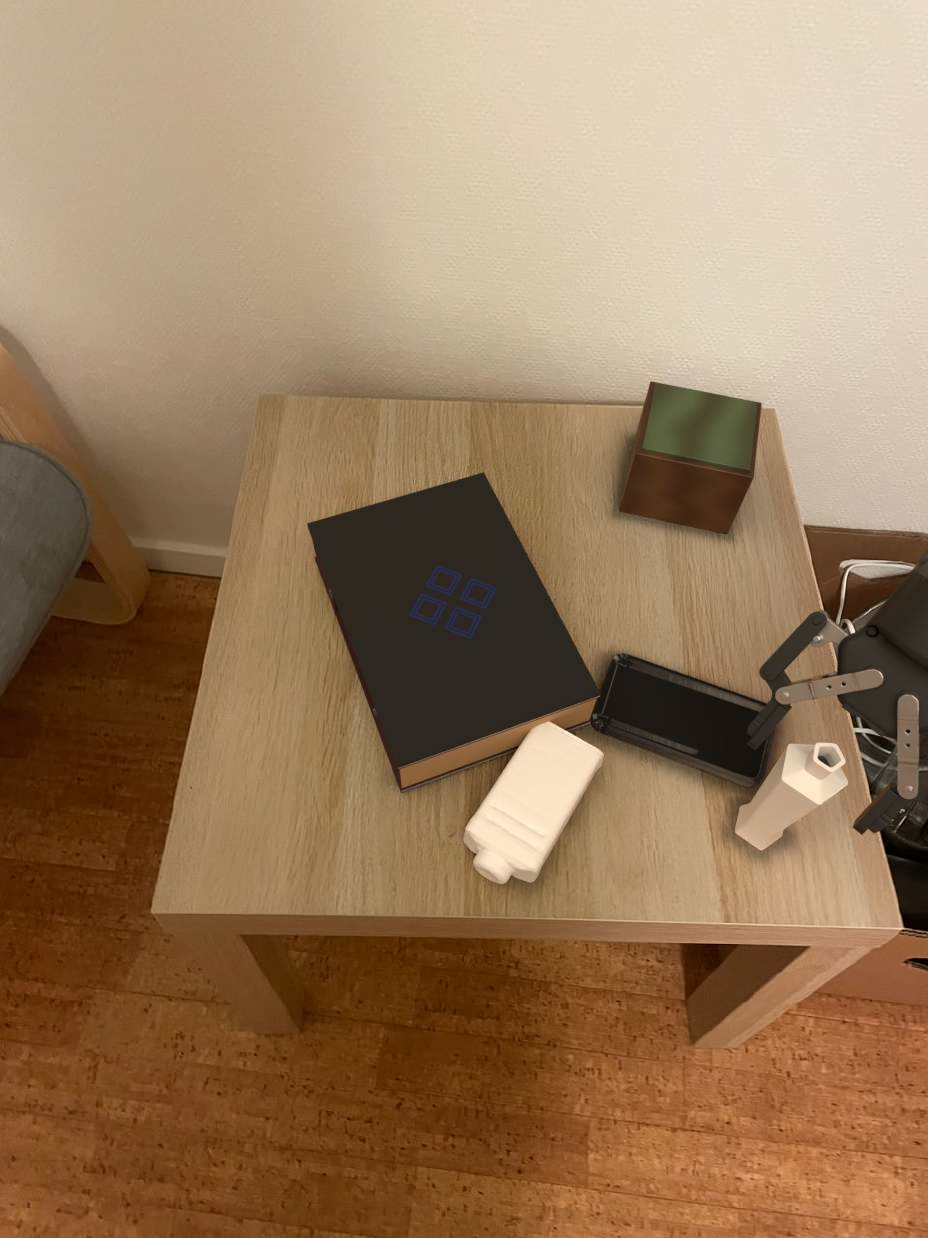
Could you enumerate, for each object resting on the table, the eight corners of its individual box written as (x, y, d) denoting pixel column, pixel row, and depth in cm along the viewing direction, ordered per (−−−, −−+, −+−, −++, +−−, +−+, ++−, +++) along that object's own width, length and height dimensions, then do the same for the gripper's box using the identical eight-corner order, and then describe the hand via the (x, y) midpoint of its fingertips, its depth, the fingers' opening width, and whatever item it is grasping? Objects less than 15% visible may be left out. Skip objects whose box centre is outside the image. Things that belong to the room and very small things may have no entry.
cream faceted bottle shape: (782, 862, 68) (860, 799, 55) (728, 843, 68) (793, 776, 56) (791, 810, 70) (869, 738, 57) (739, 792, 71) (804, 716, 58)
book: (401, 796, 70) (397, 767, 64) (315, 565, 82) (306, 522, 76) (589, 727, 73) (601, 693, 68) (481, 515, 85) (484, 471, 80)
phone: (615, 649, 76) (780, 708, 73) (613, 655, 77) (776, 713, 74) (588, 723, 72) (761, 788, 70) (586, 729, 73) (757, 792, 70)
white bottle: (451, 859, 67) (451, 844, 63) (531, 733, 73) (536, 712, 69) (522, 905, 65) (526, 891, 62) (598, 771, 71) (607, 752, 67)
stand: (736, 462, 90) (763, 399, 82) (727, 534, 85) (755, 474, 77) (633, 441, 91) (651, 377, 83) (619, 511, 86) (636, 450, 78)
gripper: (1070, 664, 54) (896, 842, 59) (874, 536, 59) (730, 711, 64) (1089, 678, 47) (892, 876, 53) (867, 532, 52) (707, 727, 58)
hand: (803, 785), depth 59 cm, fingers open, 8 cm apart
